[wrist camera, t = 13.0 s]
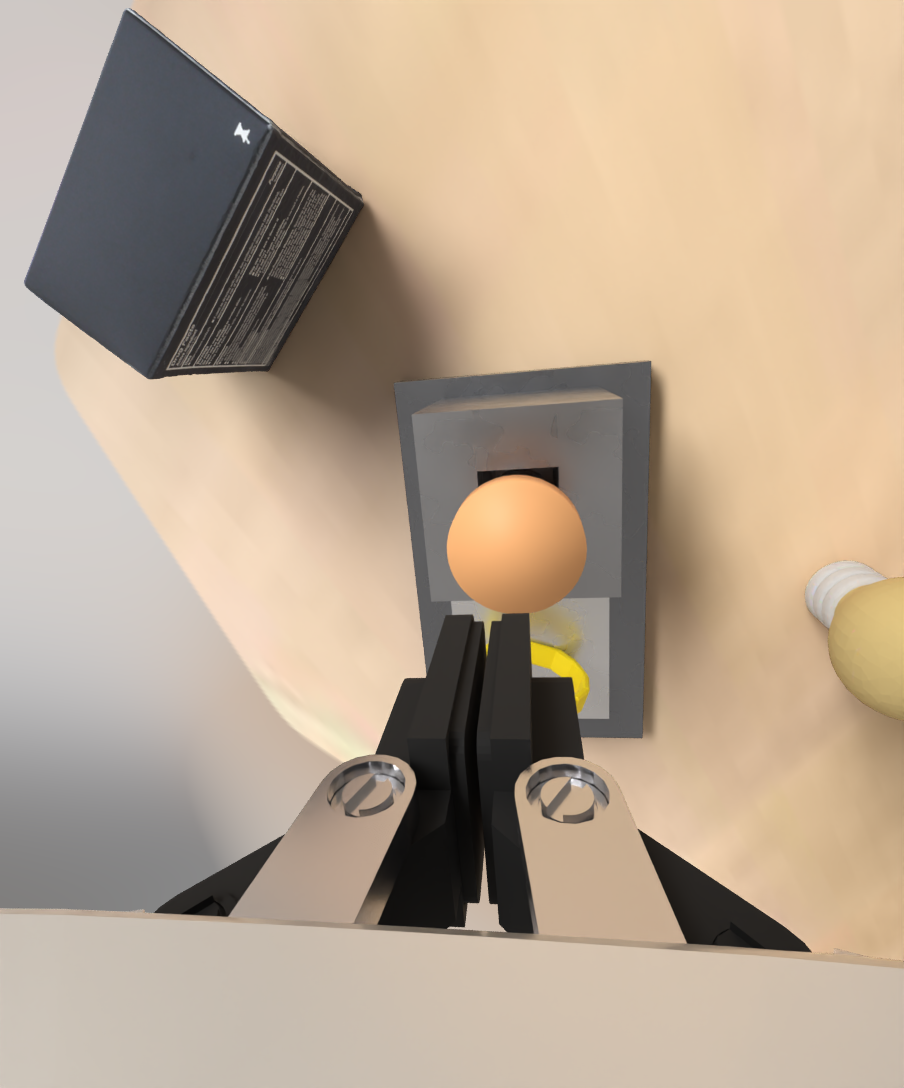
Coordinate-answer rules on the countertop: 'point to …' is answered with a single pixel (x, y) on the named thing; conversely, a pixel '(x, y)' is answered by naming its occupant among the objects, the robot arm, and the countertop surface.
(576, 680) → the watch
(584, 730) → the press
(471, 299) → the countertop surface
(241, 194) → the small box
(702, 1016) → the robot arm
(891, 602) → the light bulb
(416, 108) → the countertop surface
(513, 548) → the light orange ellipsoid
